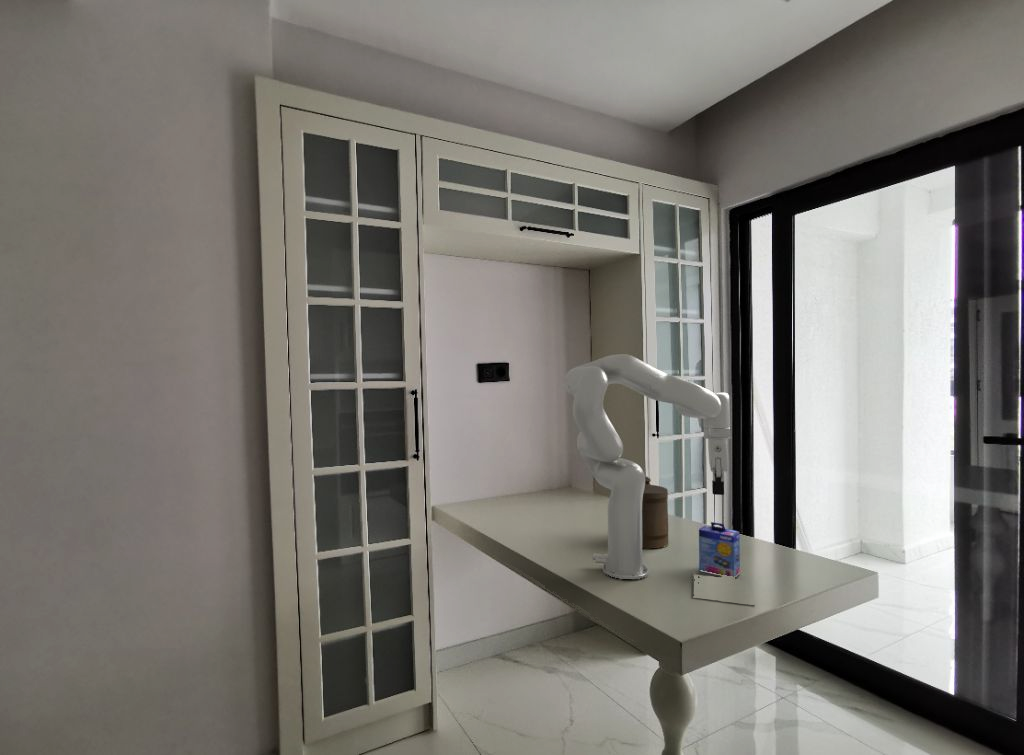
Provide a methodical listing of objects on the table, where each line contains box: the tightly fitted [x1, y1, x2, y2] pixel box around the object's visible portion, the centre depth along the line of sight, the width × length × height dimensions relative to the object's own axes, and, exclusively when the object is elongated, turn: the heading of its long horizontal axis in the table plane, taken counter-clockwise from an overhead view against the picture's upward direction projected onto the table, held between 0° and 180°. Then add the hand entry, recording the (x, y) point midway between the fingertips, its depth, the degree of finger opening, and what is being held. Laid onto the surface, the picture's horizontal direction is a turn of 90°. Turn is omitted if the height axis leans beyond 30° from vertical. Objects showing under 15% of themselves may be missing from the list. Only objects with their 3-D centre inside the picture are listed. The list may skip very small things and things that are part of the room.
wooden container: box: [642, 475, 669, 549], centre depth 171 cm, size 15×15×22 cm
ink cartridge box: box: [698, 521, 741, 577], centre depth 143 cm, size 10×6×14 cm, turn 51°
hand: (718, 494), depth 154 cm, fingers closed
